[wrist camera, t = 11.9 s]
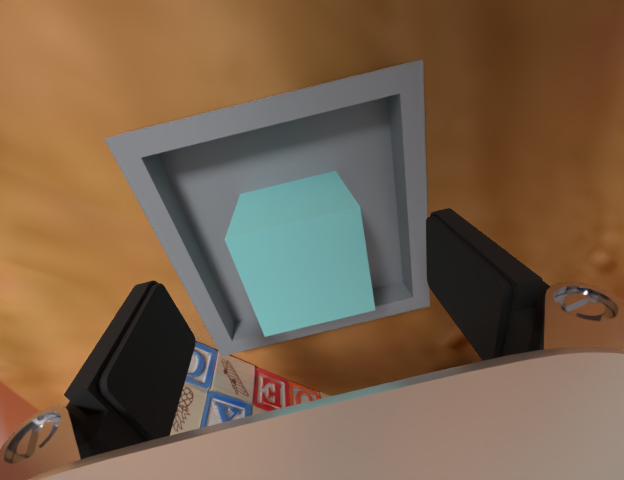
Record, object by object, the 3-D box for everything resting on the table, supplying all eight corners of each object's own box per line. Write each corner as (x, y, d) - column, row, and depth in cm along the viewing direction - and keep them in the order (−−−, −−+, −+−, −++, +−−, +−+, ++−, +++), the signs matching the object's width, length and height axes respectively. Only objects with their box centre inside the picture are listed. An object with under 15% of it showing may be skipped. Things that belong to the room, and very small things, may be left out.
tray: (126, 131, 13) (104, 138, 12) (403, 62, 13) (423, 59, 12) (226, 332, 20) (221, 356, 18) (416, 286, 20) (430, 306, 18)
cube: (240, 193, 15) (224, 239, 11) (335, 170, 15) (360, 206, 10) (267, 272, 17) (264, 336, 13) (350, 252, 17) (375, 310, 13)
